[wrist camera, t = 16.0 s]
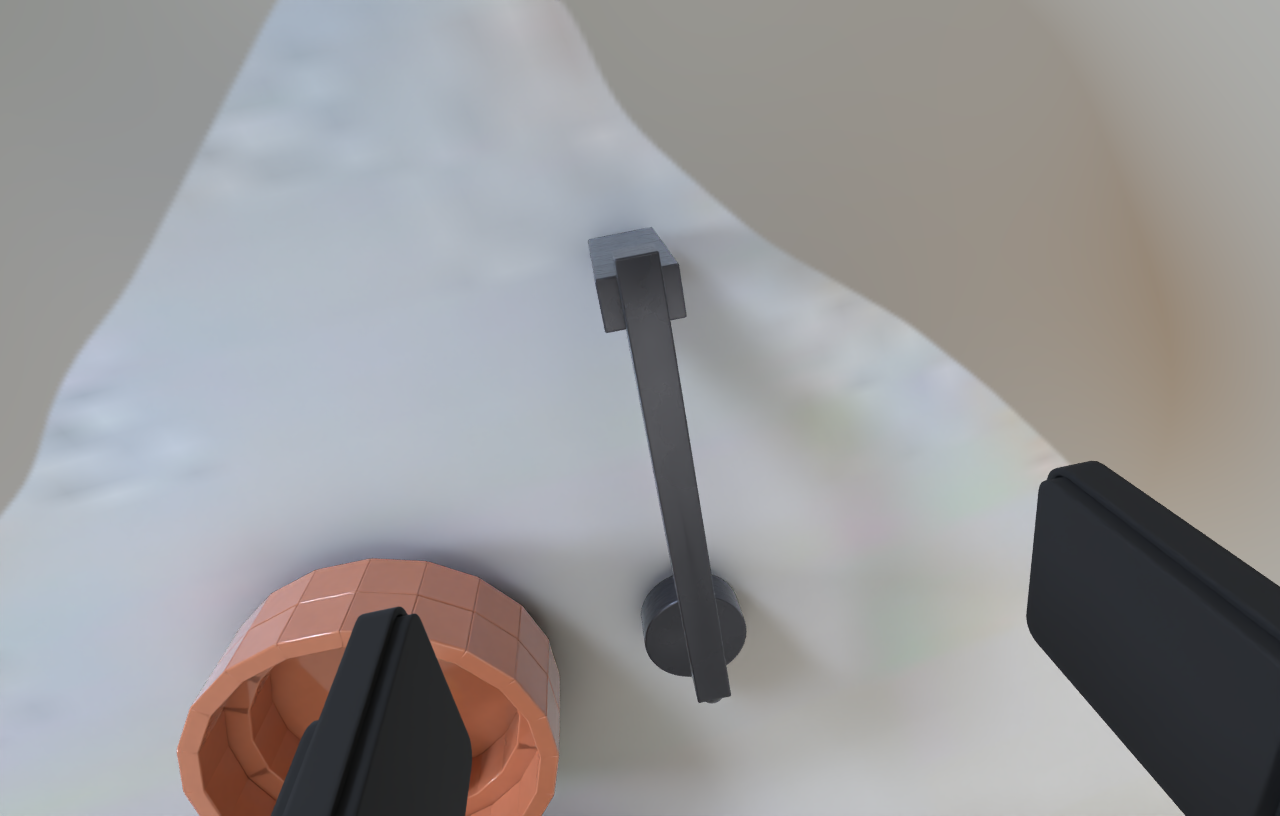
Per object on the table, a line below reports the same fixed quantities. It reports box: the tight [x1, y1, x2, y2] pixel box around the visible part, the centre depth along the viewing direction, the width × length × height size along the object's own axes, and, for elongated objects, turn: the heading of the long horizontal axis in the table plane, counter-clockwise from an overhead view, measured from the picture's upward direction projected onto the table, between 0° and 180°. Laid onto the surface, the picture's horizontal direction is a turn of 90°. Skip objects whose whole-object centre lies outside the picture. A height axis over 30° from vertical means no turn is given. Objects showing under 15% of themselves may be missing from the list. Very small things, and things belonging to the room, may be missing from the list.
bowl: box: [177, 558, 560, 816], centre depth 30 cm, size 15×15×5 cm
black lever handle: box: [588, 227, 746, 703], centre depth 25 cm, size 21×5×8 cm, turn 10°
